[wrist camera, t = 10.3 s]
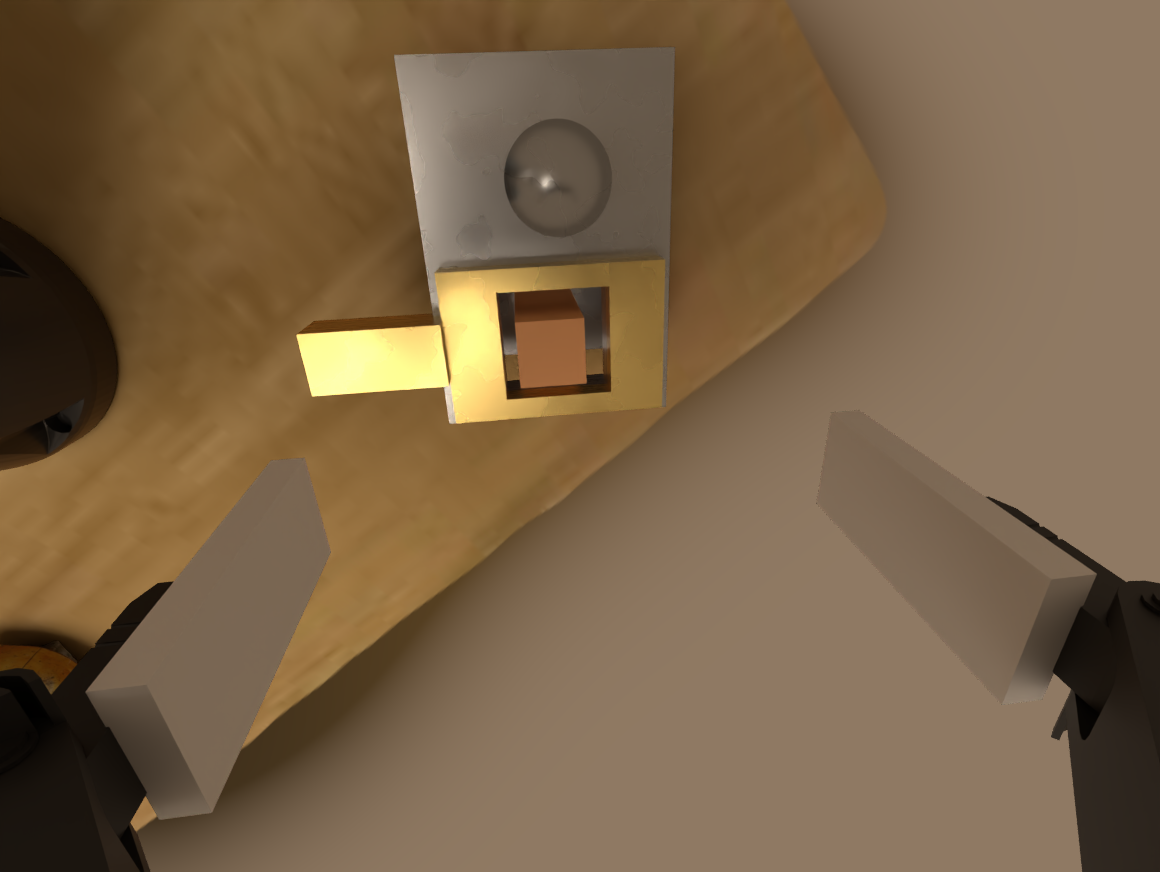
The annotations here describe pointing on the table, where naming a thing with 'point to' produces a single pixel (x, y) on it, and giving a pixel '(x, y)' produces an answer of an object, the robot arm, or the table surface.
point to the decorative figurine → (39, 661)
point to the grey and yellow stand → (525, 230)
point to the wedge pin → (549, 338)
